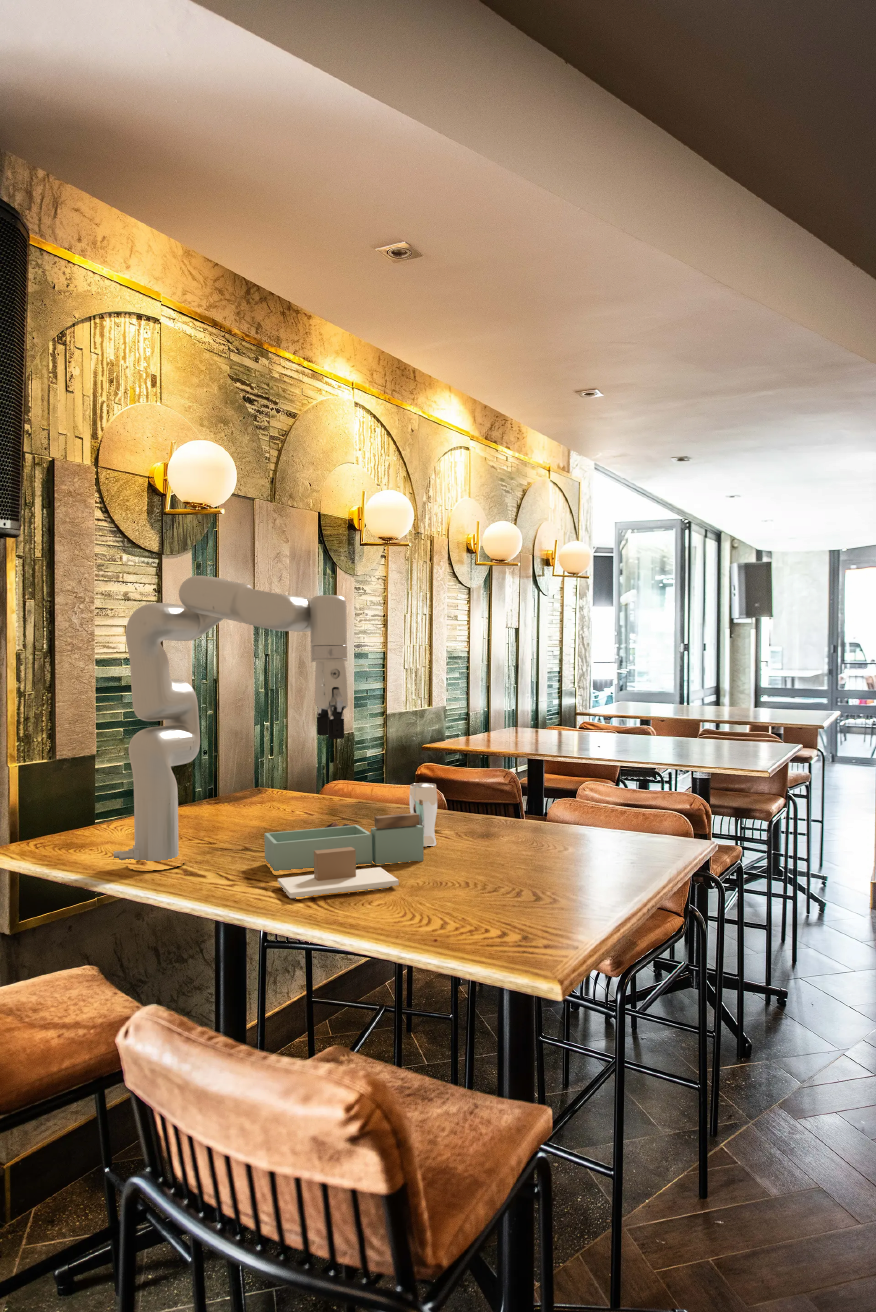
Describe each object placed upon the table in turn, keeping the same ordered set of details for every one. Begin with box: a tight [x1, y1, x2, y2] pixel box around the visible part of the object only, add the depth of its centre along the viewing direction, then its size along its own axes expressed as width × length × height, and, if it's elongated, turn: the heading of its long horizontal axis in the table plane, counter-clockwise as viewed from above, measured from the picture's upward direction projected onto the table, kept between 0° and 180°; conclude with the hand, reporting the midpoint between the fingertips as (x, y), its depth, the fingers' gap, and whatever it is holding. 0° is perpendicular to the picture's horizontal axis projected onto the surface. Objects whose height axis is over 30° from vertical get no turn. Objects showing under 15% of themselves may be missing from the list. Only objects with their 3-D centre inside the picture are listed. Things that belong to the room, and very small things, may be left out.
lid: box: [277, 847, 400, 899], centre depth 171 cm, size 22×12×8 cm, turn 112°
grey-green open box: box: [264, 824, 425, 871], centre depth 193 cm, size 34×13×8 cm, turn 111°
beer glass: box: [409, 782, 438, 848], centre depth 210 cm, size 7×7×15 cm
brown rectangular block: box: [374, 813, 419, 829], centre depth 193 cm, size 10×2×2 cm, turn 111°
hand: (330, 737), depth 175 cm, fingers open, 9 cm apart
